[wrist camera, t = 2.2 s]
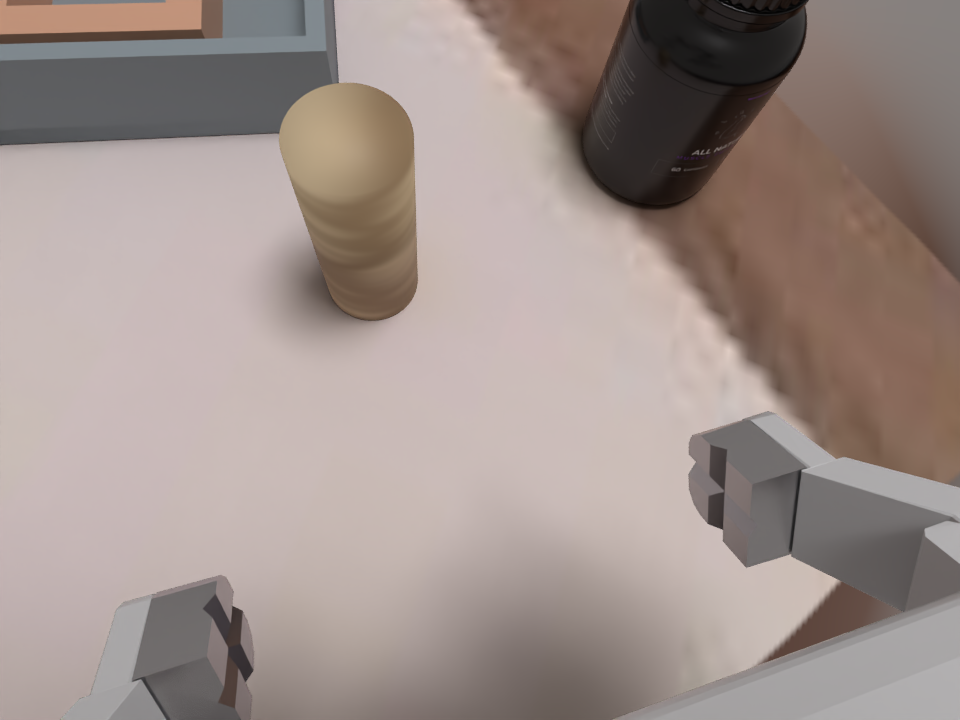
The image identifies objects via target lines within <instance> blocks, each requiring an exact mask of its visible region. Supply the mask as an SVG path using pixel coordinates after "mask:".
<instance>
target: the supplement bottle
mask: <svg viewBox="0 0 960 720" xmlns="http://www.w3.org/2000/svg"><path fill="white" fill-rule="evenodd" d="M808 1H809V0H630V1H629V4H628V7H627V9H626V12H625V15H624V17H623V20H622V23H621V25H620V28H619V31H618V33H617V36H616V39H615V41H614V44H613V47H612V49H611V52H610V55H609V57H608V60H607V63H606V65H605V68H604V71H603V74H602V76H601V79H600V82H599V84H598V87H597V90H596V92H595V95H594V98H593V100H592V103H591V106H590V108H589V112H588V114H587V117H586V120H585V124H584V128H583V149H584V153H585V156H586V159H587V161H588V163H589V165H590V167H591V169H592V171H593V172H594V173H595V175H596V176H597V177H598V178H599V180H600V181H601V182H602V183H603V184H604V185H606V186H607V187H608V188H609V189H610V190H612V191H613V192H615V193H616V194H618V195H620V196H622V197H624V198H626V199H629V200H631V201H634V202H638V203H643V204H649V205H665V204H671V203H676V202H679V201H682V200H684V199H686V198H688V197H690V196H692V195H693V194H695V193H696V192H698V191H699V190H700V189H701V188H702V187H703V186H704V185H705V184H706V183H707V182H708V180H709V179H710V178H711V177H712V175H713V174H714V173H715V172H716V170H717V169H718V167H719V166H720V165H721V163H722V162H723V161H724V159H725V158H726V157H727V155H728V154H729V153H730V151H731V150H732V149H733V147H734V146H735V145H736V143H737V142H738V141H739V139H740V138H741V137H742V135H743V134H744V133H745V131H746V130H747V129H748V127H749V126H750V124H751V123H752V122H753V120H754V119H755V118H756V116H757V115H758V114H759V112H760V111H761V110H762V108H763V107H764V106H765V104H766V103H767V102H768V100H769V99H770V98H771V96H772V95H773V94H774V92H775V91H776V89H777V88H778V87H779V85H780V84H781V83H782V81H783V80H784V79H785V77H786V76H787V75H788V73H789V72H790V71H791V69H792V67H793V66H794V65H795V63H796V61H797V60H798V58H799V56H800V54H801V51H802V49H803V47H804V43H805V39H806V32H807V13H806V8H805V5H806V4H807V2H808Z"/></svg>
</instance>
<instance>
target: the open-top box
mask: <svg viewBox="0 0 960 720" xmlns="http://www.w3.org/2000/svg"><path fill="white" fill-rule="evenodd" d="M336 83H339V80H338V63H337V46H336V29H335V12H334V0H0V145H4V144H27V143H50V142H73V141H96V140H120V139H143V138H166V137H189V136H212V135H235V134H258V133H280V128H281V124H282V122H283V119H284V117H285V115H286V114H287V112H288V111H289V109H290V108H291V107H292V105H293V104H294V103H295V102H296V101H297V100H299V99H300V98H301V97H303V96H304V95H305V94H307V93H309V92H311V91H313V90H315V89H317V88H320V87H323V86H326V85H330V84H336Z"/></svg>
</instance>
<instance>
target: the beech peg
mask: <svg viewBox="0 0 960 720" xmlns="http://www.w3.org/2000/svg"><path fill="white" fill-rule="evenodd" d="M279 144H280V150H281V154H282V157H283V160H284V163H285V166H286V168H287V171H288V174H289V177H290V180H291V183H292V186H293V189H294V191H295V194H296V197H297V200H298V203H299V206H300V209H301V211H302V214H303V217H304V220H305V223H306V226H307V229H308V232H309V234H310V237H311V240H312V243H313V246H314V249H315V252H316V255H317V257H318V260H319V263H320V266H321V269H322V272H323V275H324V278H325V280H326V283H327V286H328V289H329V292H330V294H331V297H332V299H333V300H334V302H335V303H336V304H337V306H338V307H339V308H340V309H342V310H343V311H344V312H346V313H347V314H349V315H351V316H353V317H355V318H358V319H363V320H382V319H386V318H389V317H391V316H394V315H396V314H397V313H399V312H400V311H402V310H403V309H404V308H405V307H406V306H407V305H408V304H409V303H410V301H411V300H412V298H413V297H414V294H415V292H416V288H417V283H418V274H417V237H416V201H415V165H414V133H413V128H412V124H411V121H410V119H409V117H408V115H407V113H406V112H405V110H404V109H403V108H402V106H401V105H400V104H399V103H398V102H397V101H396V100H394V99H393V98H392V97H391V96H389V95H388V94H386V93H385V92H383V91H381V90H379V89H376V88H374V87H371V86H367V85H363V84H357V83H336V84H330V85H326V86H323V87H320V88H317V89H315V90H313V91H311V92H309V93H307V94H305V95H304V96H303V97H301V98H300V99H299V100H297V101H296V102H295V103H294V104H293V105H292V107H291V108H290V109H289V111H288V112H287V114H286V115H285V117H284V119H283V122H282V124H281V128H280V133H279Z"/></svg>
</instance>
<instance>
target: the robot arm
mask: <svg viewBox="0 0 960 720" xmlns="http://www.w3.org/2000/svg"><path fill="white" fill-rule="evenodd" d="M689 455H690V456H691V457H692V458H693V459H694V460H695V461H696V463H695V465H694V466H693V468H692V469H691V471H690V472H689V474H688V475H689V491H690V494H691V497H692V500H693V503H694V505H695V507H696V509H697V510H698V512H699V514H700V515H701V516H702V518H703V519H704V520H705V521H706V522H707V524H709V525H712V526H715V527H717V528H720V529H722V530H723V542H724V543H725V544H726V545H727V547H728V548H729V549H730V550H731V551H732V552H733V553H734V554H735V556H736V557H737V558H738V559H739V560H740V561H741V562H742V564H743V565H744V566H745V567H746V568H747V567H750V566H754V565H757V564H760V563H763V562H767V561H770V560H773V559H776V558H780V557H783V556H786V555H789V554H792V555H791V557H793V558H795V559H797V560H799V561H802V562H804V563H806V564H808V565H810V566H812V567H814V568H816V569H818V570H820V571H822V572H824V573H826V574H828V575H830V576H832V577H834V578H836V579H838V580H840V581H842V582H844V583H846V584H848V585H850V586H852V587H854V588H856V589H858V590H860V591H862V592H864V593H866V594H868V595H870V596H872V597H874V598H876V599H879V600H881V601H883V602H885V603H886V604H888V605H890V606H892V607H895V608H897V609H899V610H901V611H903V612H902V613H900V614H897V615H894V616H891V617H889V618H886V619H883V620H880V621H878V622H875V623H873V624H870V625H867V626H864V627H862V628H859V629H856V630H853V631H851V632H848V633H845V634H842V635H840V636H837V637H834V638H831V639H829V640H826V641H823V642H821V643H818V644H815V645H812V646H810V647H807V648H804V649H802V650H799V651H796V652H793V653H791V654H788V655H786V656H783V657H780V658H777V659H774V660H772V661H769V662H766V663H764V664H761V665H758V666H755V667H753V668H750V669H747V670H745V671H742V672H739V673H736V674H734V675H731V676H728V677H726V678H723V679H720V680H717V681H715V682H712V683H709V684H707V685H704V686H701V687H699V688H696V689H693V690H690V691H688V692H685V693H682V694H680V695H677V696H674V697H671V698H669V699H666V700H663V701H661V702H658V703H655V704H652V705H650V706H647V707H644V708H642V709H639V710H636V711H633V712H631V713H628V714H625V715H622V716H620V717H617V718H614V719H612V720H960V488H958V487H955V486H951V485H947V484H943V483H940V482H936V481H932V480H928V479H925V478H921V477H917V476H913V475H910V474H906V473H902V472H898V471H895V470H891V469H887V468H883V467H880V466H876V465H872V464H868V463H865V462H861V461H857V460H853V459H850V458H846V457H843V458H839V459H835V458H834V457H833V456H831V455H830V454H829V453H827V452H826V451H825V450H823V449H822V448H821V447H819V446H818V445H817V444H815V443H814V442H813V441H811V440H810V439H809V438H807V437H806V436H805V435H803V434H802V433H801V432H800V431H798V430H797V429H796V428H794V427H793V426H792V425H790V424H789V423H788V422H786V421H785V420H784V419H782V418H781V417H780V416H778V415H777V414H775V413H772V412H769V411H767V412H764V413H761V414H758V415H755V416H751V417H748V418H745V419H743V420H742V421H737V422H734V423H731V424H727V425H724V426H721V427H718V428H714V429H711V430H708V431H704V432H701V433H698V434H695V435H692V437H691V439H690V442H689ZM233 593H234V591H233V589H232V587H231V585H230V584H229V582H228V580H227V578H226V577H225V576H222V575H219V576H215V577H212V578H208V579H204V580H201V581H197V582H193V583H190V584H186V585H182V586H179V587H175V588H171V589H168V590H164V591H160V592H157V593H156V594H152V595H148V596H144V597H141V598H137V599H133V600H130V601H126V602H123V603H122V604H121V605H120V606H119V607H118V609H117V610H116V612H115V615H114V619H113V622H112V625H111V628H110V632H109V635H108V638H107V641H106V645H105V648H104V651H103V654H102V658H101V661H100V664H99V667H98V671H97V674H96V677H95V680H94V684H93V687H92V690H91V693H90V695H89V696H86V697H83V698H80V699H79V700H78V701H77V702H76V703H75V704H74V705H73V706H72V707H71V708H70V710H69V711H68V712H67V713H66V714H65V715H64V716H63V717H62V718H61V719H60V720H251V705H252V695H251V693H250V691H249V689H248V687H247V685H246V683H245V682H246V681H247V679H248V678H249V676H250V675H251V673H252V672H253V670H254V650H253V642H252V635H251V631H250V628H249V624H248V621H247V619H246V617H245V615H244V612H243V611H242V610H240V609H238V608H235V607H233V606H232V604H233Z"/></svg>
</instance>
